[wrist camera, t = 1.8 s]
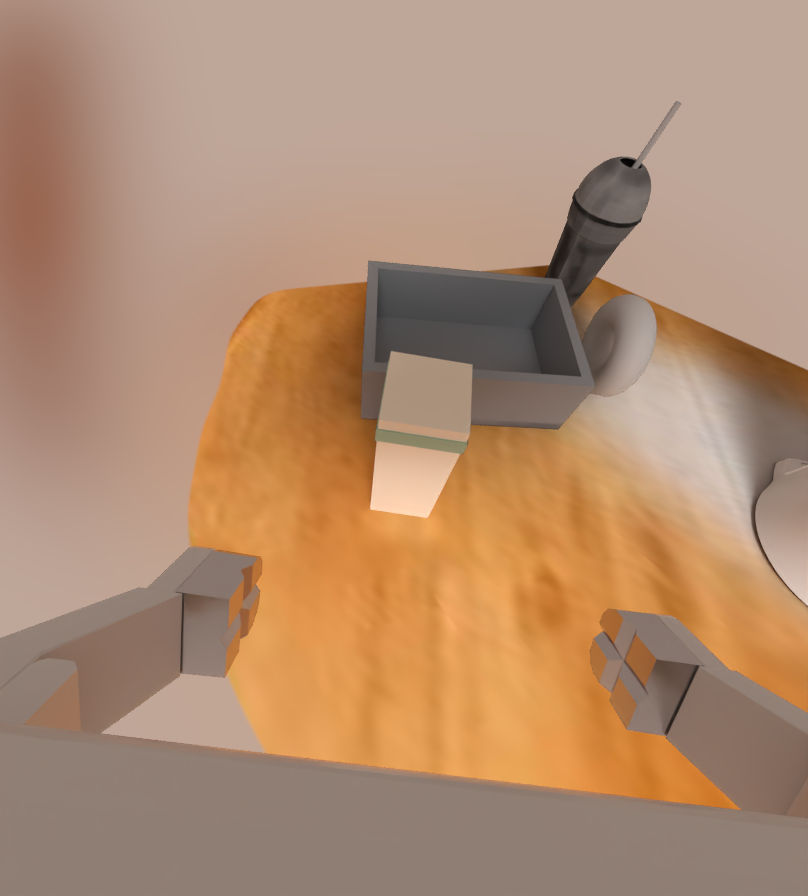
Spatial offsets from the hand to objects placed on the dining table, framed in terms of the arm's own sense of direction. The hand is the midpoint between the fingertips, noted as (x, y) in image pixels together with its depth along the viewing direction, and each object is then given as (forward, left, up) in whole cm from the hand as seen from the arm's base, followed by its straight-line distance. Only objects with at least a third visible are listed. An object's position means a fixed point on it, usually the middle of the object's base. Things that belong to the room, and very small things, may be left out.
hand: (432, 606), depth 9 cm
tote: (-8, -26, -22) cm, 35 cm away
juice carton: (-2, -12, -22) cm, 25 cm away
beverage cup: (-22, -39, -22) cm, 50 cm away
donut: (-23, -26, -22) cm, 41 cm away
